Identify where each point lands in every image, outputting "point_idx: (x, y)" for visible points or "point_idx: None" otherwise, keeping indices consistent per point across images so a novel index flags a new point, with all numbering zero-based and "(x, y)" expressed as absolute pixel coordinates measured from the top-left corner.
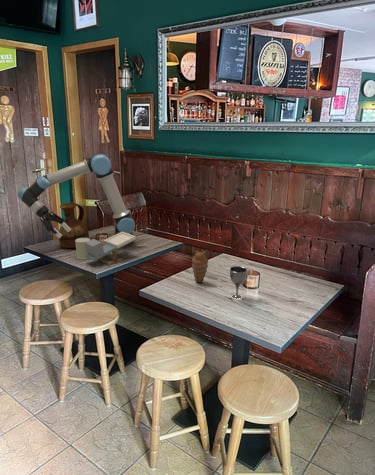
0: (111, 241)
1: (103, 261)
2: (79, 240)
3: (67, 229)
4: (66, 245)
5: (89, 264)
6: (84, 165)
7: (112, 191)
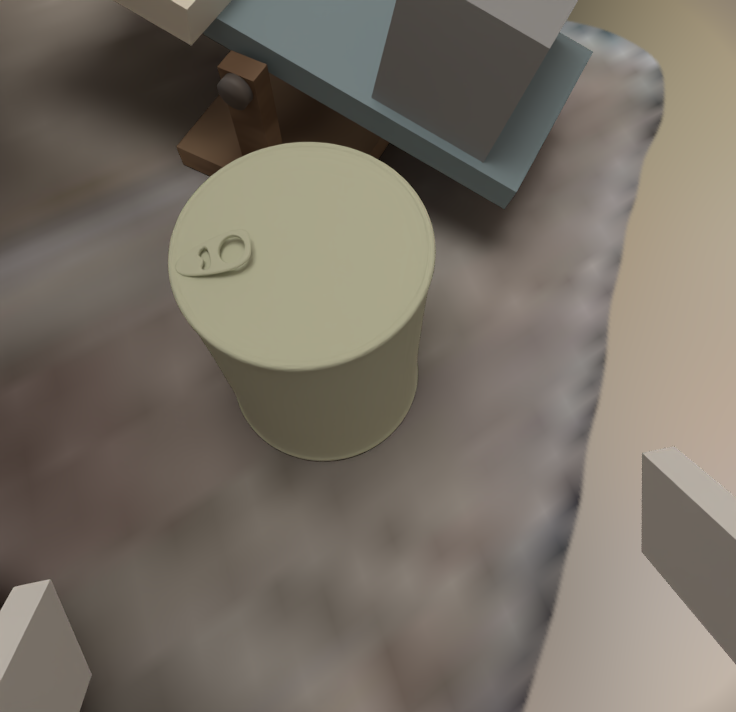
0: None
1: None
2: (341, 284)
3: (51, 699)
4: None
5: (500, 210)
6: None
7: None
